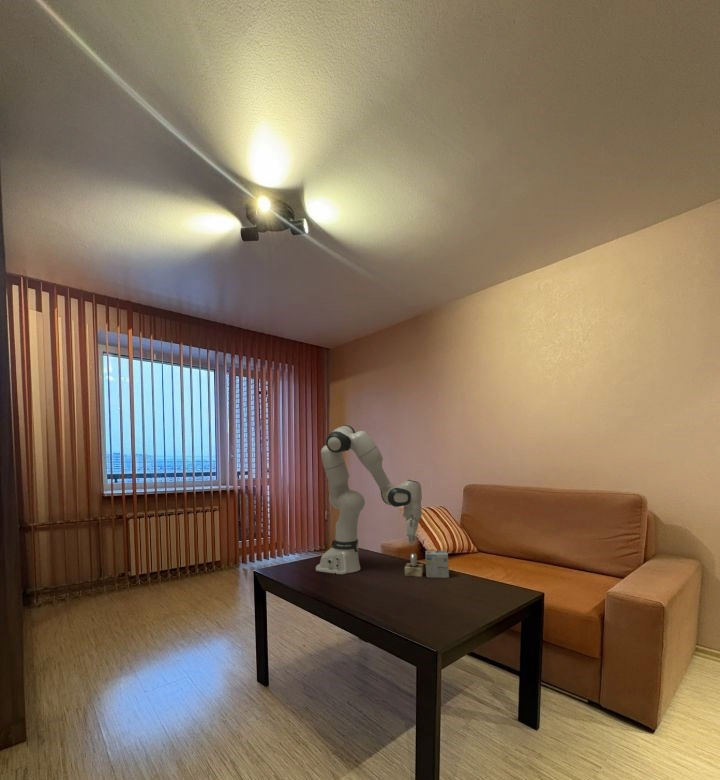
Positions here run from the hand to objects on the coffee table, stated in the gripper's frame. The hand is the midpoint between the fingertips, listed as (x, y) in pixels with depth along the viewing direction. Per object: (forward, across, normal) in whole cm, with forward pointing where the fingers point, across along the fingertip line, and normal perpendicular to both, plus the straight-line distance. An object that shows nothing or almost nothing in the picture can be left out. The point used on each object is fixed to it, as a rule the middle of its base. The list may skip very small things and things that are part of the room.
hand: (412, 543), depth 197 cm
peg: (+14, 0, -1) cm, 14 cm away
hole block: (+14, 0, -1) cm, 14 cm away
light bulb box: (+14, -1, -12) cm, 19 cm away
